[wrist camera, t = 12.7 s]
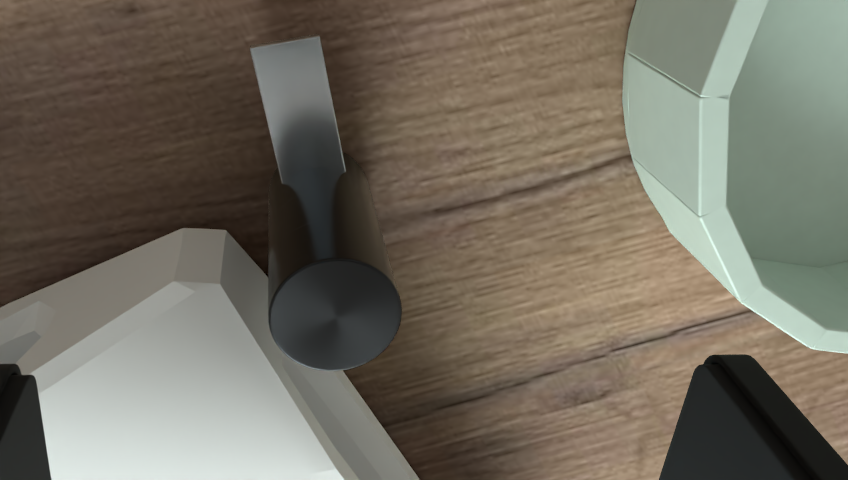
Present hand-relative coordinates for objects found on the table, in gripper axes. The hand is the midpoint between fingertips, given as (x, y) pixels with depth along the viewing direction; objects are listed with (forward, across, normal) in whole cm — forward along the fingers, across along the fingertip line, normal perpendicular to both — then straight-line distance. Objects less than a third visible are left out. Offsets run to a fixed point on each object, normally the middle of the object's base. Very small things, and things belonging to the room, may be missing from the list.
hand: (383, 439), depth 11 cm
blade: (+13, 0, +2) cm, 13 cm away
